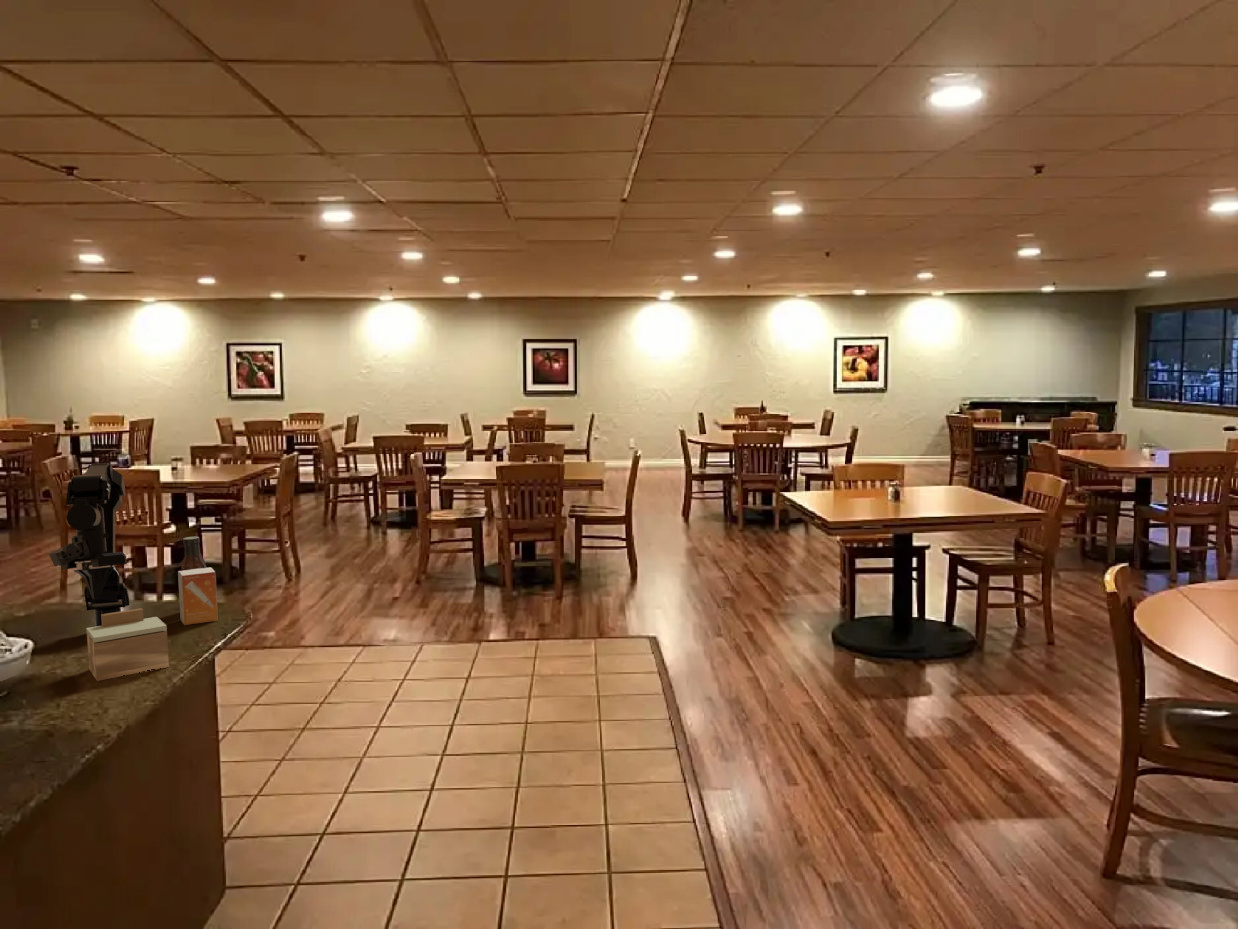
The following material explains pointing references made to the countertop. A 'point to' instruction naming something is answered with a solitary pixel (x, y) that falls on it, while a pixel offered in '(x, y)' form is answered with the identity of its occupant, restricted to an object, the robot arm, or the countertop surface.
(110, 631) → the lid
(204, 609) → the small box
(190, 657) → the countertop surface
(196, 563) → the sauce bottle
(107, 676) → the box
